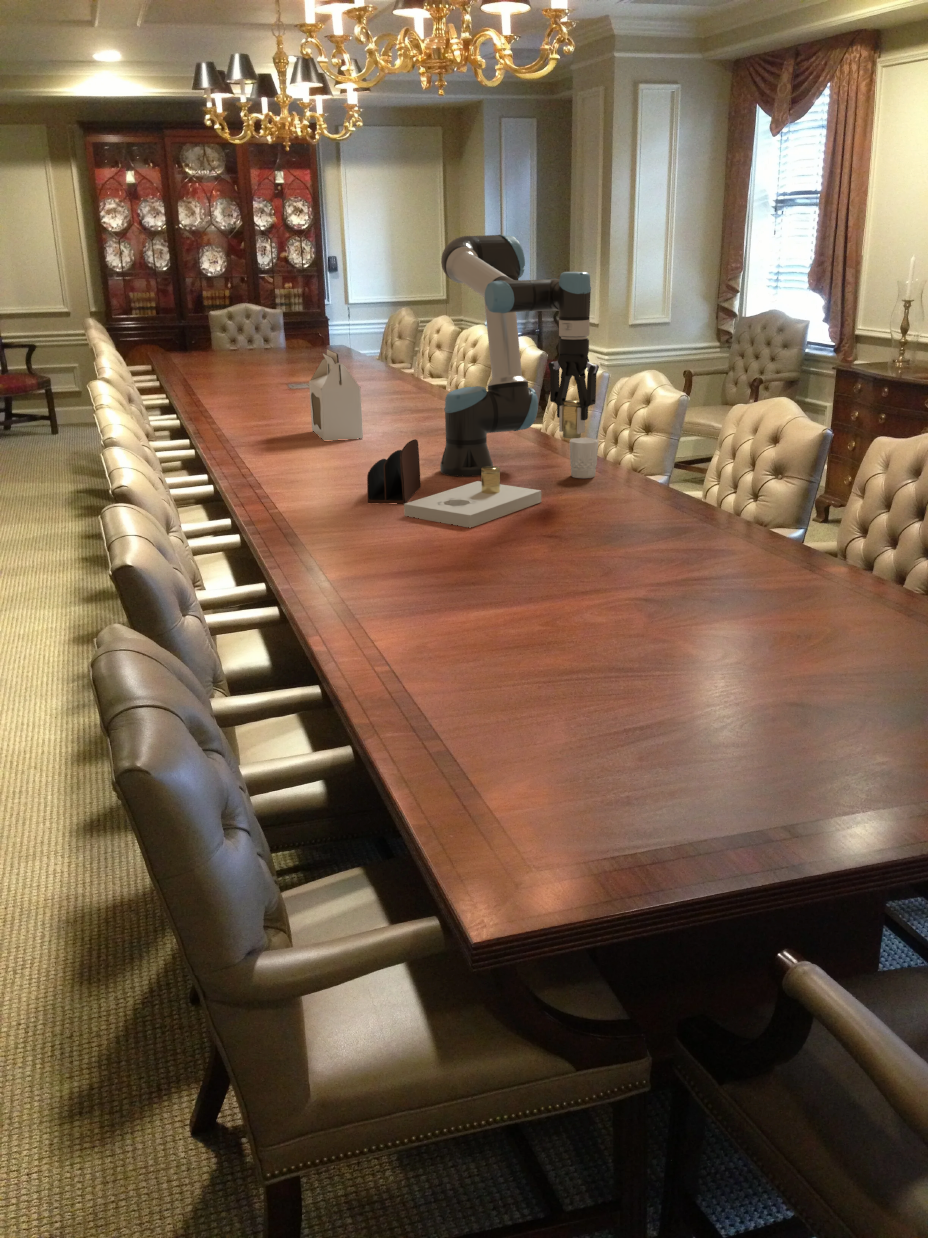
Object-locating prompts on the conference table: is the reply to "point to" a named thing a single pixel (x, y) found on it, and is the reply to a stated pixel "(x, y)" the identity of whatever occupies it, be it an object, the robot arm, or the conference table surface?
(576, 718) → the conference table surface
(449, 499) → the jig plate
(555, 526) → the conference table surface
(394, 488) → the letter holder
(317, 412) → the gable box
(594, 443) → the white cup
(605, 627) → the conference table surface
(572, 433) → the loose bushing
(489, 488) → the cylinder
